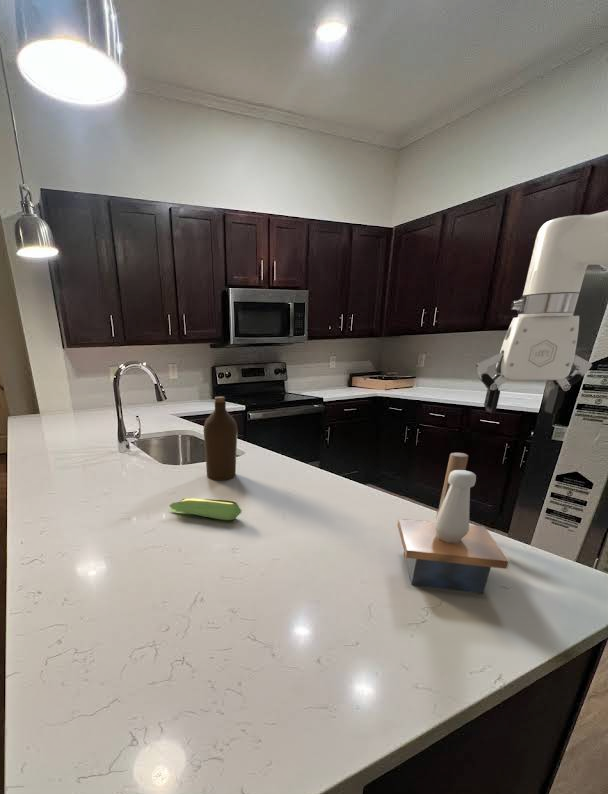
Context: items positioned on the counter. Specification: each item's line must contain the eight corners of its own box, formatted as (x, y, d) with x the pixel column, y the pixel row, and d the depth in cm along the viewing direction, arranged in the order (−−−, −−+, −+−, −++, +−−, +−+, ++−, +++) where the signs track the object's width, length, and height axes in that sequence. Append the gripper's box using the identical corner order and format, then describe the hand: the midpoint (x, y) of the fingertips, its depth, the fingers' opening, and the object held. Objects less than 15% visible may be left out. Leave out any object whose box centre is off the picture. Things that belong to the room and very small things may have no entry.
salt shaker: (452, 529, 81) (467, 465, 76) (473, 543, 76) (490, 475, 71) (425, 532, 81) (438, 467, 75) (444, 546, 75) (459, 478, 70)
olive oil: (212, 482, 130) (210, 400, 120) (200, 473, 139) (197, 396, 129) (243, 477, 134) (243, 398, 124) (229, 468, 143) (228, 393, 133)
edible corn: (238, 524, 102) (238, 507, 100) (164, 514, 108) (163, 498, 106) (244, 516, 107) (244, 500, 105) (172, 507, 113) (171, 491, 111)
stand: (475, 559, 86) (484, 526, 83) (497, 598, 73) (508, 561, 70) (392, 550, 90) (398, 518, 87) (400, 586, 77) (407, 550, 74)
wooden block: (434, 542, 93) (451, 464, 85) (434, 523, 102) (449, 451, 94) (453, 545, 91) (471, 466, 84) (451, 525, 100) (468, 452, 93)
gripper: (496, 308, 68) (473, 415, 74) (622, 304, 64) (586, 417, 70) (481, 310, 74) (461, 407, 81) (595, 306, 70) (564, 409, 77)
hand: (519, 412), depth 76 cm, fingers open, 9 cm apart
